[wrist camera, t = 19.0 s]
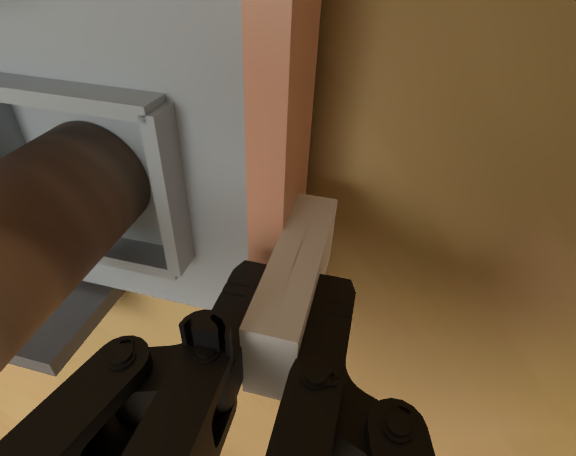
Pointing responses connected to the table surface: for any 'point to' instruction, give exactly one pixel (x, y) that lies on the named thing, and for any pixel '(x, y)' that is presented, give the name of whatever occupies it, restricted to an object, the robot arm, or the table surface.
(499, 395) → the table surface
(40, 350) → the dock
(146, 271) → the tray
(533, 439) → the table surface
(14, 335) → the wooden dowel
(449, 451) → the table surface
